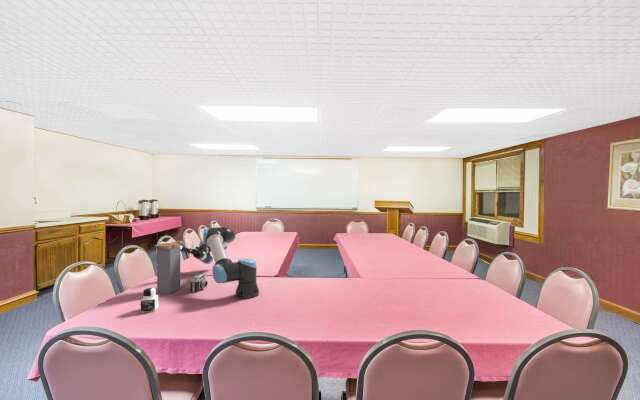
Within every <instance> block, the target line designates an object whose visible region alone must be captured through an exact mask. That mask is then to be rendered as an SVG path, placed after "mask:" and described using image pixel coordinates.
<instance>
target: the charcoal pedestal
mask: <svg viewBox="0 0 640 400" xmlns="http://www.w3.org/2000/svg"><path fill="white" fill-rule="evenodd" d="M156 284H157V285H156V287H157V288H156V292H157V293H158V294H168V295H169V294H172V293H174V292H177V291H178V290H181V251H180V246H179V247H175V248H171V249H156ZM157 293H156V294H157Z"/></svg>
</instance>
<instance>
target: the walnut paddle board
mask: <svg viewBox="0 0 640 400" xmlns="http://www.w3.org/2000/svg"><path fill="white" fill-rule="evenodd" d="M184 244H185V240H177V241H173V242H163V243H159V244H156V245H153V249H156V250H157V249H171V248H175V247H179V246H180V245H181V246H182V245H184Z"/></svg>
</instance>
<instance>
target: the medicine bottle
mask: <svg viewBox="0 0 640 400" xmlns="http://www.w3.org/2000/svg"><path fill="white" fill-rule="evenodd" d="M156 292H157V288H155V287H148V288H145V289H144V290H143V297H142V299H140V313H143V314H144V313H151V312H152V313H153V312H156V311H157V309H158V307H159V295H158V294H157V293H156Z"/></svg>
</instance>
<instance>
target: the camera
mask: <svg viewBox="0 0 640 400" xmlns="http://www.w3.org/2000/svg"><path fill="white" fill-rule="evenodd" d="M205 275H206V274H205V272H199V273H197V274H196V275H193V276H192V277H190V285H189V287H190V290H189V291H190V293H191V294H196V293H198V292H199V291H201V290H202V289H204V288H206V287H207V286H208V280H206V279H205V278H206V277H205Z"/></svg>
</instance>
